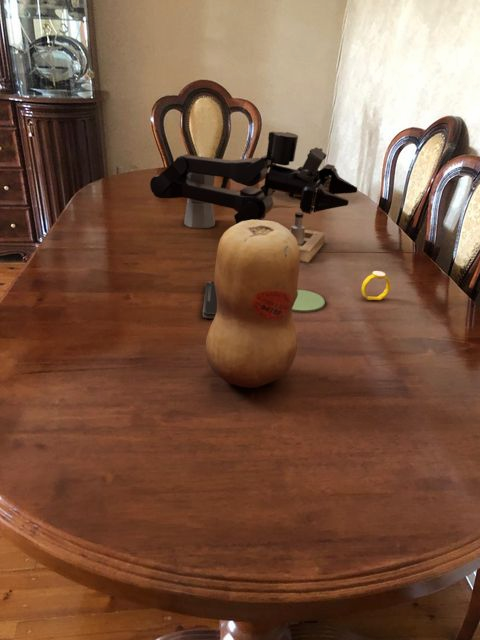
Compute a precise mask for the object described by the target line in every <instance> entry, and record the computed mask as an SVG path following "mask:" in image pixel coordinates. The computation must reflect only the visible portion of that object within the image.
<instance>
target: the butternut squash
mask: <svg viewBox="0 0 480 640" xmlns="http://www.w3.org/2000/svg"><path fill="white" fill-rule="evenodd" d="M289 230H290V229H288V228H287V227H286V226H284V225H282V224H281V223H278V222H276V221H274V220H263V219H261V220H247V221H242V222H240V223H238V224H236V223H235V224H234V225H232V226H230V227H229V228H228V229H226V230H225V231H224V232H223V234H222V235H221V237H220V238H219V241H218V246H217V249H216V251H217V252H216V258H215V267H214V274H213V275H214V276H213V277H214V279H213V282H214V284H215V290H216V296H217V312H216V316H215V318H214V319H212V322H211V325H210V326H209V329H208V333H207V336H206V339H205V359H206V360H207V363H208V365H209V367H210V368H211V370H212V372H214V373H215V374H216V375H217V376H218V377H219V378H220V379H221V380H222V381H224V382H226V383H228V384H231V385H234V386H236V387H241V388H246V389H247V388H248V389H255V388H256V389H257V388H260V387H263V386H264V385H267V384H270V383H272V382H274V381H277V380H280V379H283V377H284V376H285V375H286V374H287V373H288V372H289V371H290V369H291V368H292V365H293V364H294V361H295V359H296V356H297V349H298V338H297V331H296V330H297V329H296V324H295V322H294V317H293V311H292V308H293V305H294V303H295V301H296V299H297V296H298V290H299V289H298V284H299V283H298V282H299V274H300V268H301V267H300V266H301V261H300V253H299V248H298V242H297V240H296V238H295V237H294V235H293V234H292V233H291V232H290V231H289Z"/></svg>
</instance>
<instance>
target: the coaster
mask: <svg viewBox="0 0 480 640" xmlns="http://www.w3.org/2000/svg"><path fill="white" fill-rule="evenodd" d="M324 306H325V299H324V297H323V296H322V295H320V294H318V293H317V292H313V291H310V290H306V289H298V296H297V299H296V301H295V303H294V305H293V308H292V312H297V313H298V312H299V313H311V312H316V311H318V310H321V309H322V308H324Z"/></svg>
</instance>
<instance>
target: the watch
mask: <svg viewBox="0 0 480 640" xmlns="http://www.w3.org/2000/svg"><path fill="white" fill-rule="evenodd" d="M374 279H379V280H383V279H385V283H386V284H385V288H384V290H383V291H382V293H380V294H379V295H377V296H368V295H367V293H366V289H367V286H368V284H369V283H370V281H372V280H374ZM390 290H391V281H390V279H389V278H388V277H387V276H386V273H385V272H384V271H380V270H374V271H372V273H371V274H369V275H367V276H366V278H365V279H364V280H363V282H362V285H361V294H362V296H363V297H364V298H365V299H366V300H368V301H381V300H383V299H384V298H386V297H387V295H388V294H389V293H390Z"/></svg>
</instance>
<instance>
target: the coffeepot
mask: <svg viewBox="0 0 480 640" xmlns="http://www.w3.org/2000/svg"><path fill="white" fill-rule="evenodd" d="M186 179H188V180H189V181H192V182H197V183H201V184H206V185H210V186H215V179H216V176H211V175H204V174H196V173H189V174H188V175H187V177H186ZM229 181H230V179H229V178H226V177H222V181H221V182H222V183H221V185H220V188H224V189H227V186H228V183H229ZM215 217H216V216H215V211H214V204H211V203H206V202H202V201H197V200H193V199H189V198H187V200H186V208H185V214H184V221H183V224H184V225H185V226H186V227H188V228H191V229H201V230H204V229H210V228H213V227H215V224H216V218H215Z"/></svg>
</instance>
